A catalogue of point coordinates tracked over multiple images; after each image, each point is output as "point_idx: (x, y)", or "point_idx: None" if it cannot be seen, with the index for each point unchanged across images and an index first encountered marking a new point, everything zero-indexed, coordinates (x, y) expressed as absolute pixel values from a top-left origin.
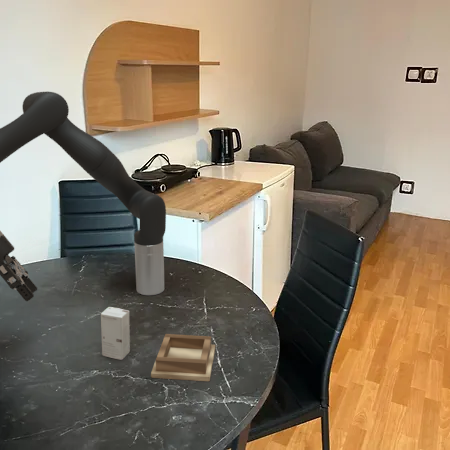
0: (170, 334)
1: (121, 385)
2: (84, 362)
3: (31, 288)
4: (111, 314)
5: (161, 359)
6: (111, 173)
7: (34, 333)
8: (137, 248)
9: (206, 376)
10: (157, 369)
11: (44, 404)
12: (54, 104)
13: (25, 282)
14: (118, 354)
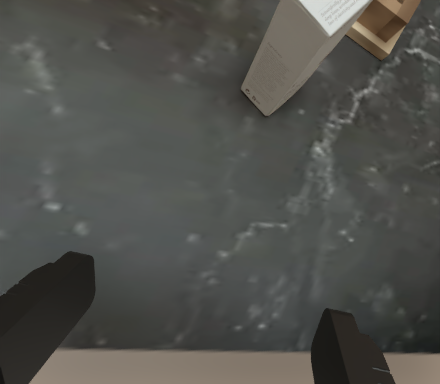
0: None
1: (383, 118)
2: (274, 161)
3: (72, 297)
4: (352, 6)
5: (409, 11)
6: None
7: (57, 255)
8: None
9: None
10: (390, 37)
11: (386, 271)
12: None
13: (22, 363)
14: (303, 83)
